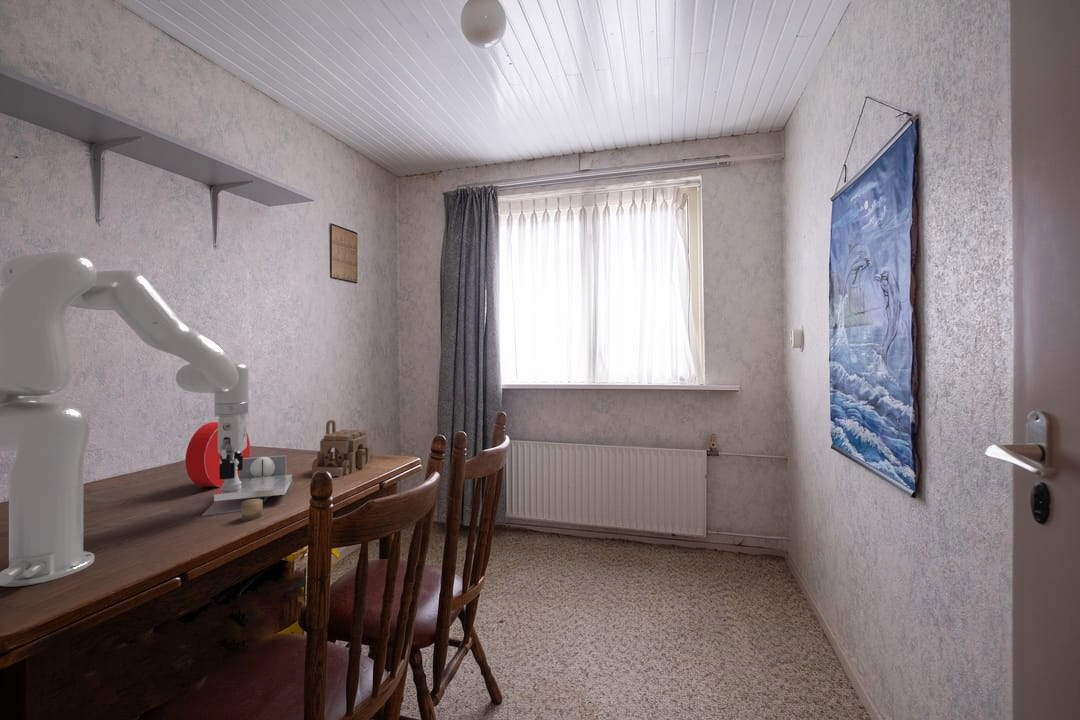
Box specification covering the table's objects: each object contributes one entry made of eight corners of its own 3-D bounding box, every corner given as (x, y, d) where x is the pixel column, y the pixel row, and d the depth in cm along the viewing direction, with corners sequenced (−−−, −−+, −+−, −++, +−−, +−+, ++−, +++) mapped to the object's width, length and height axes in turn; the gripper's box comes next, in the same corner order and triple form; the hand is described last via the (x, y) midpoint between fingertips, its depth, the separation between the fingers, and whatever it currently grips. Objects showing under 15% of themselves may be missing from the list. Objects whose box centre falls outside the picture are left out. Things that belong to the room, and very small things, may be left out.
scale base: (292, 509, 123) (292, 468, 123) (202, 518, 115) (202, 475, 115) (300, 488, 142) (300, 453, 142) (224, 495, 135) (224, 458, 135)
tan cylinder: (260, 523, 112) (260, 503, 112) (239, 526, 110) (239, 505, 110) (263, 517, 116) (264, 498, 116) (243, 520, 114) (243, 499, 114)
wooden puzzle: (346, 482, 150) (346, 425, 150) (304, 480, 152) (304, 424, 152) (378, 466, 172) (378, 416, 172) (341, 465, 174) (341, 416, 174)
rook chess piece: (231, 492, 120) (231, 461, 120) (217, 491, 121) (217, 461, 121) (246, 487, 124) (245, 458, 124) (232, 486, 125) (231, 457, 125)
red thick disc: (233, 477, 155) (233, 418, 155) (250, 477, 155) (250, 418, 155) (185, 494, 135) (185, 426, 135) (204, 495, 135) (204, 427, 135)
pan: (284, 504, 124) (284, 488, 124) (213, 511, 118) (213, 494, 118) (292, 488, 139) (292, 474, 139) (229, 494, 133) (229, 479, 133)
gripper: (240, 412, 116) (240, 481, 116) (254, 406, 132) (254, 466, 132) (205, 413, 113) (204, 484, 113) (223, 406, 129) (223, 468, 129)
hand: (231, 474), depth 123 cm, fingers open, 8 cm apart
